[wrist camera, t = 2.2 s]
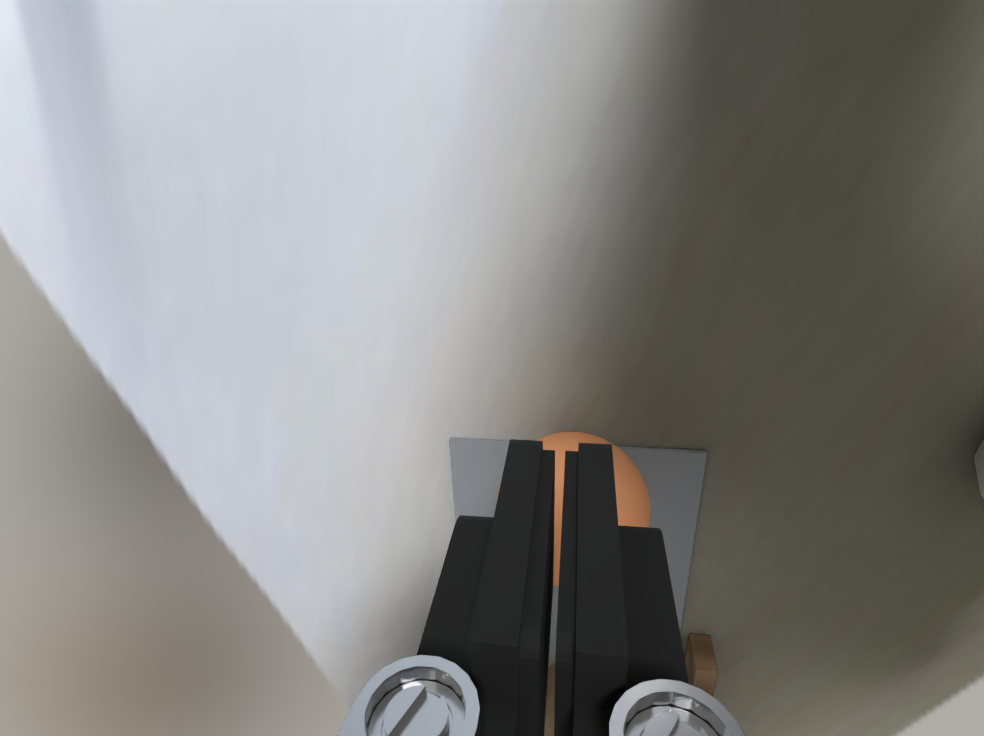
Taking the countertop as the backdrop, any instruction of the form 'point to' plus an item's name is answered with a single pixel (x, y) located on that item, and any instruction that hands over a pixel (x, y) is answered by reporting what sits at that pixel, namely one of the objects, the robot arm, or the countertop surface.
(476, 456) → the plate
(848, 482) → the countertop surface
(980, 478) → the salt shaker
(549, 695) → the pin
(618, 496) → the ball
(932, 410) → the countertop surface
